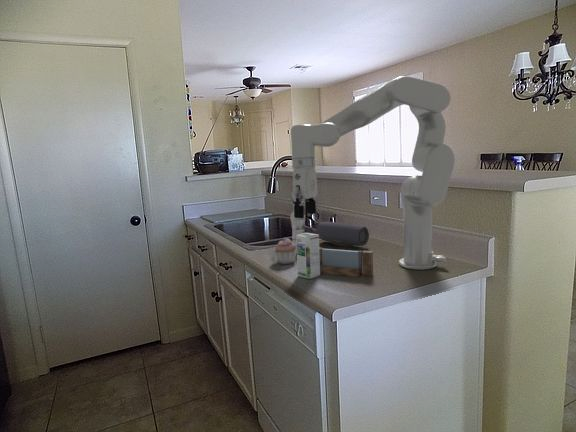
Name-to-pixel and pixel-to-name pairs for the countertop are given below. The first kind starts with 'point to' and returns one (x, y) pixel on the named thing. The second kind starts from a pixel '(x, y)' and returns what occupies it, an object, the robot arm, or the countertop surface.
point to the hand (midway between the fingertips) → (305, 215)
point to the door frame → (367, 268)
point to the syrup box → (308, 255)
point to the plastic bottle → (296, 227)
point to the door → (342, 258)
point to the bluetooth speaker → (343, 234)
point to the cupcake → (285, 251)
